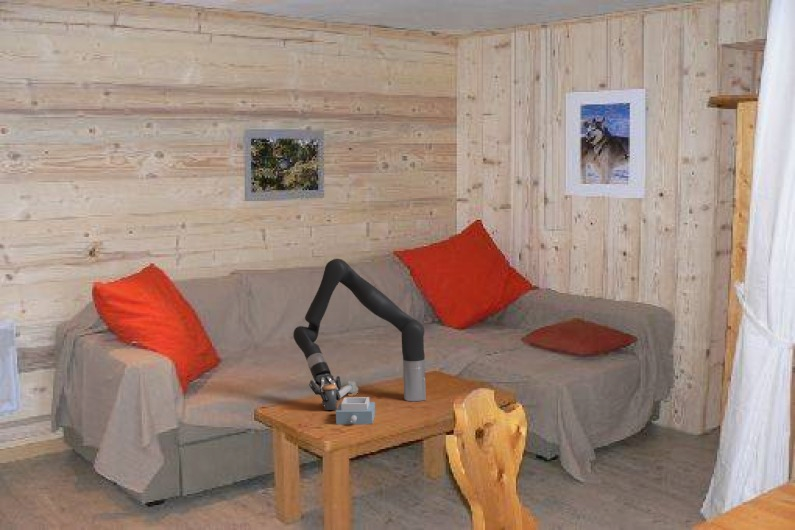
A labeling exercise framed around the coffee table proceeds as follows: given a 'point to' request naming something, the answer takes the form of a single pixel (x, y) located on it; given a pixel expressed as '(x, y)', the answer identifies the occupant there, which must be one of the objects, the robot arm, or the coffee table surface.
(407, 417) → the coffee table surface
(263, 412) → the coffee table surface
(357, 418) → the blue knob tray
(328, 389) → the dark grey lidded jar
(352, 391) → the grey flanged rod
